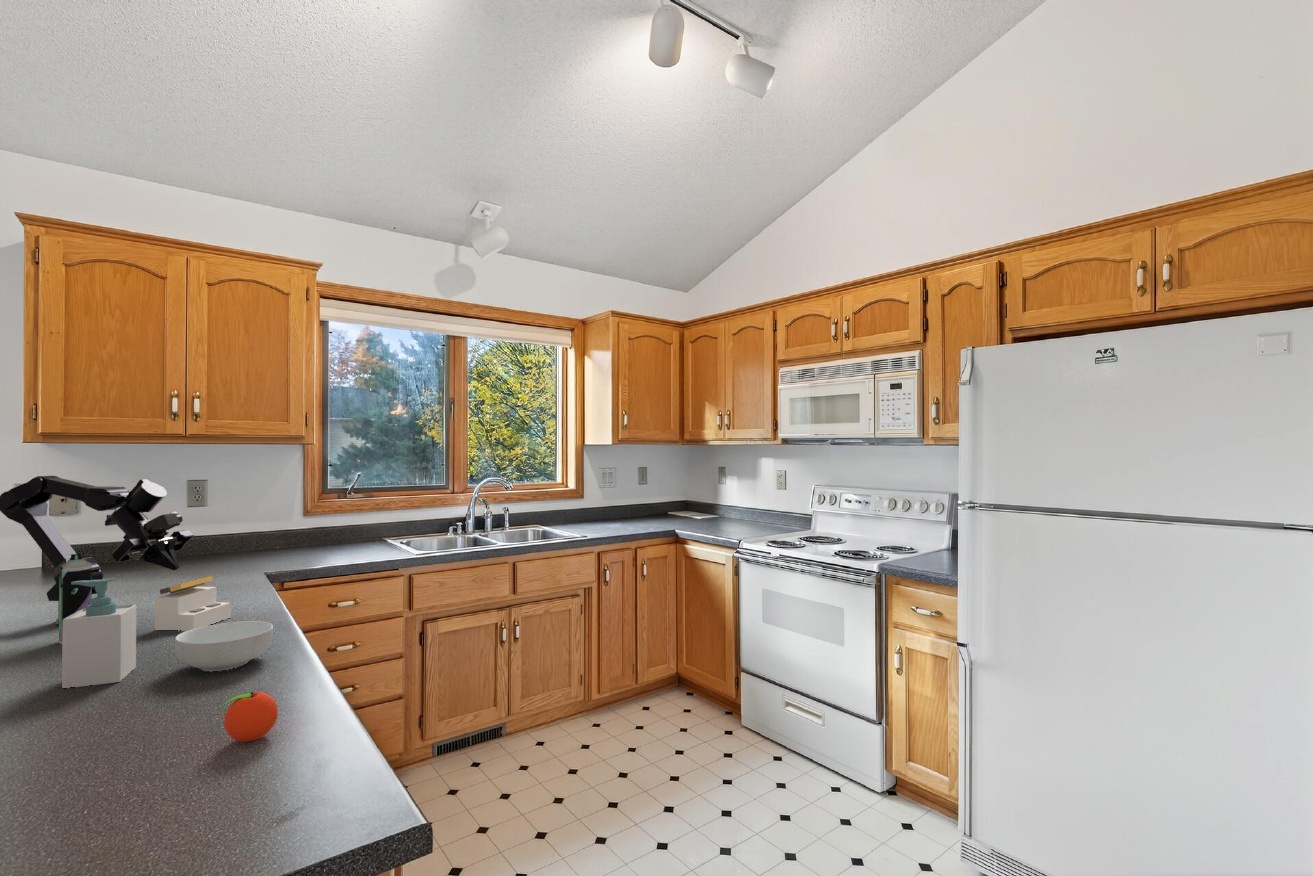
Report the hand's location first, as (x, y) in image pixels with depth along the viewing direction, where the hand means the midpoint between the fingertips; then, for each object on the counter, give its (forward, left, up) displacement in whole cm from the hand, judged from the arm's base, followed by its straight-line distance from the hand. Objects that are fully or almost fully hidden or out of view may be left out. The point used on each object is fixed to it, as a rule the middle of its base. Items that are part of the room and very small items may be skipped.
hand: (176, 568), depth 160 cm
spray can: (+1, -19, -14) cm, 24 cm away
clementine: (+87, -1, -14) cm, 88 cm away
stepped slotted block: (+4, +3, -14) cm, 15 cm away
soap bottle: (+37, -16, -14) cm, 43 cm away
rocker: (+2, +2, -5) cm, 6 cm away
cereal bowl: (+45, +3, -14) cm, 47 cm away
